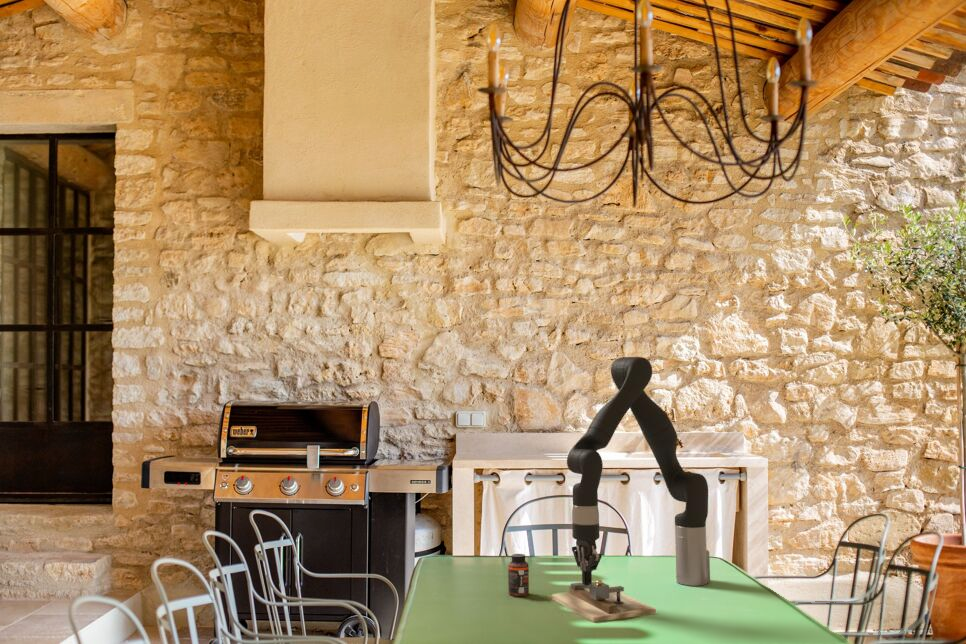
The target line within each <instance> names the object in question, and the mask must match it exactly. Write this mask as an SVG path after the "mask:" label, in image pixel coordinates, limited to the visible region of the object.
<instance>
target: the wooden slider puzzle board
mask: <svg viewBox="0 0 966 644" xmlns="http://www.w3.org/2000/svg"><path fill="white" fill-rule="evenodd" d="M550 598H551V600H553V601H554V602H557V603H558V604H560V605H562V606H563V607H565V608H567V609H569V610H570V611H572V612H574V613H576V614H578V615H579V616H581V617H583V618H584V619H587V620H588V621H590V622H592V623H596V622H604V621H605V622H606V620H607V621H611V620H612V621H613V620H619V619H627V618H634V617H641V616H648V615H656V614H657V609H656V608H654V607H653V606H650V605H648V604H646V603H643V602H641V601H639V600H637V599H635V598H633V597H631V596H628V595H626V594H624V593H622V592H620V600H621V602H617V592H613V593H609V599H603V600H595V599H593V598H591V597H589V589H586V588H585V589H579V590H574V589H572V588H571V585H569V586H568V592H562V593H554V594H551V595H550Z"/></svg>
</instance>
